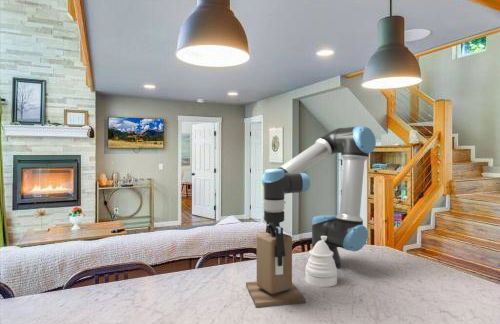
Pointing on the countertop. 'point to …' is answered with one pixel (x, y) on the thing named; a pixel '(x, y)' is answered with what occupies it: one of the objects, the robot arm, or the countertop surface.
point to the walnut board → (274, 296)
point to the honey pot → (321, 265)
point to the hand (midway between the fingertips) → (274, 268)
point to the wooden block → (273, 264)
